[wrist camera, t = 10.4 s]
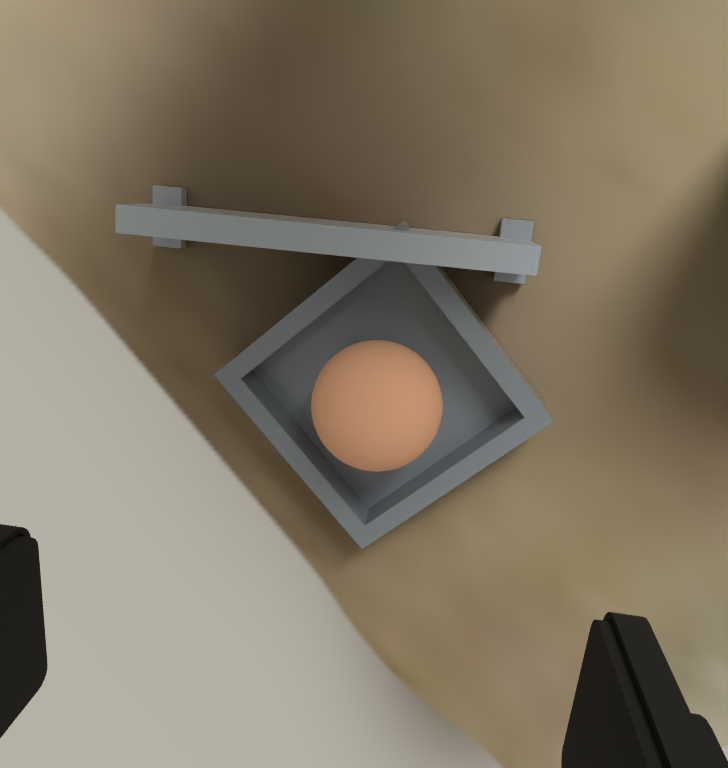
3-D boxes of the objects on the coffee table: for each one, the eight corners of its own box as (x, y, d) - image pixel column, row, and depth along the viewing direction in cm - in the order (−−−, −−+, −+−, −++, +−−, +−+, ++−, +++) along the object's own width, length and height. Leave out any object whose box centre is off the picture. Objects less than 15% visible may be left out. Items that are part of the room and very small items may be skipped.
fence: (158, 185, 27) (111, 183, 23) (532, 221, 26) (548, 225, 22) (158, 244, 28) (113, 252, 24) (522, 282, 26) (536, 296, 23)
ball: (328, 321, 27) (302, 349, 22) (451, 335, 26) (450, 367, 22) (320, 434, 28) (293, 483, 24) (435, 450, 28) (432, 503, 23)
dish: (231, 360, 29) (213, 375, 26) (404, 219, 26) (401, 221, 24) (368, 522, 30) (361, 549, 28) (544, 402, 28) (553, 421, 25)
